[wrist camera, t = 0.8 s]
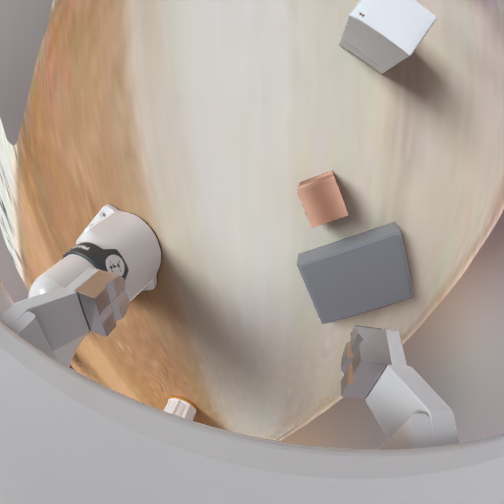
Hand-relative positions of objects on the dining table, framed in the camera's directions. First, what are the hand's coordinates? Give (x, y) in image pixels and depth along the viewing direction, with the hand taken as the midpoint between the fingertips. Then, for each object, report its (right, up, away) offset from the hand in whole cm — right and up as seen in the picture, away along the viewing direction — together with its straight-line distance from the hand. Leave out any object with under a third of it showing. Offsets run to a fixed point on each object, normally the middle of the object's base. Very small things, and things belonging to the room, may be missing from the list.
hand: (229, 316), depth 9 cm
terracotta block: (+11, +11, +30) cm, 34 cm away
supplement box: (+17, +31, +19) cm, 40 cm away
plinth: (+18, -1, +34) cm, 39 cm away
